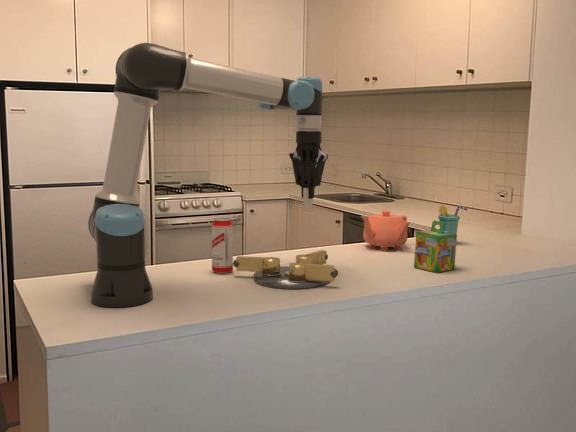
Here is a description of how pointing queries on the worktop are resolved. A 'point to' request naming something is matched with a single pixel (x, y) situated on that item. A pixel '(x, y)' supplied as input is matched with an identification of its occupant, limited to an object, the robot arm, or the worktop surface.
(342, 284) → the worktop surface
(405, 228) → the teapot
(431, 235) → the chalk box
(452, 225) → the cup
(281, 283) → the levelling base
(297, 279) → the knob
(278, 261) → the knob
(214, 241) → the beer can
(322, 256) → the knob
